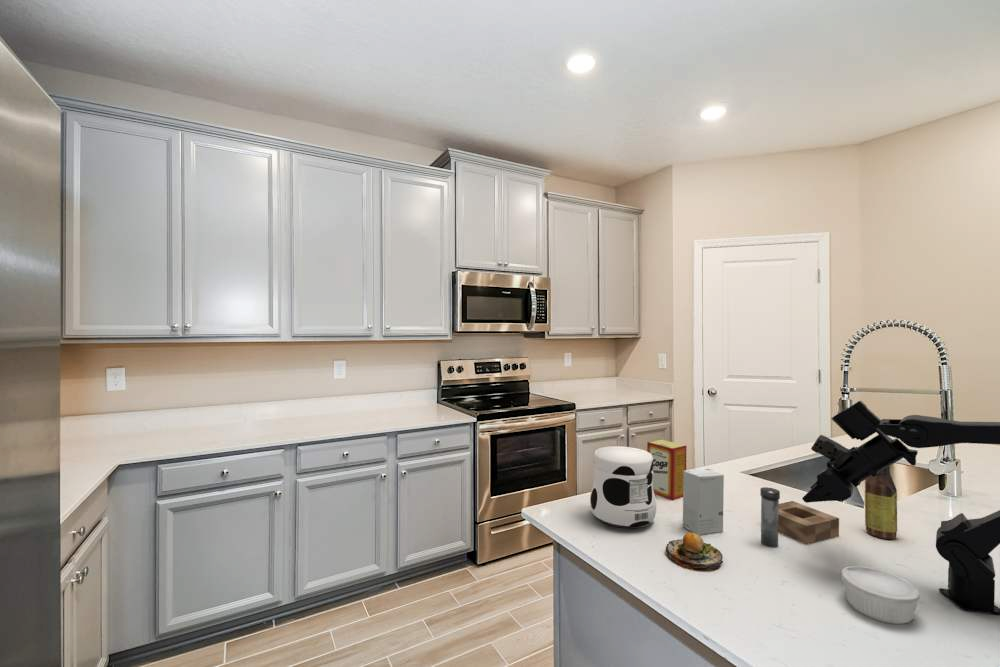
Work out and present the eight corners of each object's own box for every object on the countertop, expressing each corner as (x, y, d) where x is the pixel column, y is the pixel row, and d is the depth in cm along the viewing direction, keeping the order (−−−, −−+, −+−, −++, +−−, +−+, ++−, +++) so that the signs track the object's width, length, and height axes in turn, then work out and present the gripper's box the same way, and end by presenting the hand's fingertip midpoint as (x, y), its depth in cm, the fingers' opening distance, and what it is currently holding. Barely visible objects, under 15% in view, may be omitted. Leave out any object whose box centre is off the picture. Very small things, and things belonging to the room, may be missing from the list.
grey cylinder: (781, 548, 107) (782, 494, 106) (763, 546, 107) (763, 492, 107) (775, 540, 110) (776, 488, 110) (757, 539, 111) (758, 486, 111)
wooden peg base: (838, 536, 113) (839, 518, 113) (806, 544, 109) (806, 526, 109) (792, 517, 124) (792, 500, 124) (761, 524, 120) (761, 507, 120)
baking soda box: (647, 490, 144) (647, 440, 144) (660, 486, 148) (660, 438, 147) (672, 500, 136) (673, 447, 136) (686, 496, 140) (686, 444, 139)
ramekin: (881, 591, 90) (881, 564, 90) (937, 628, 79) (938, 598, 79) (826, 592, 89) (826, 565, 89) (875, 630, 78) (875, 599, 78)
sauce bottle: (903, 541, 110) (904, 460, 110) (874, 539, 111) (875, 459, 111) (886, 529, 117) (887, 453, 116) (858, 527, 118) (859, 451, 118)
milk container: (604, 502, 135) (604, 442, 134) (663, 516, 125) (664, 451, 125) (579, 523, 120) (580, 455, 120) (645, 540, 111) (645, 467, 110)
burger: (731, 560, 102) (732, 527, 102) (708, 579, 94) (708, 543, 94) (680, 541, 111) (681, 510, 111) (655, 557, 103) (655, 524, 103)
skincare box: (697, 536, 113) (698, 477, 113) (681, 525, 119) (681, 469, 118) (724, 531, 115) (725, 473, 115) (707, 521, 121) (707, 466, 121)
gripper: (844, 420, 106) (789, 456, 114) (831, 433, 93) (769, 473, 101) (887, 460, 101) (826, 495, 109) (880, 481, 88) (811, 519, 96)
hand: (808, 494), depth 104 cm, fingers open, 9 cm apart
